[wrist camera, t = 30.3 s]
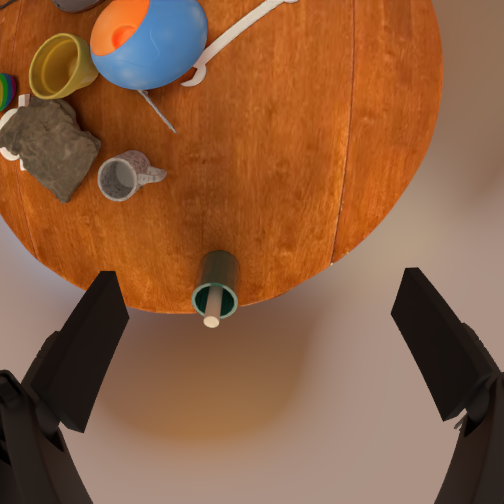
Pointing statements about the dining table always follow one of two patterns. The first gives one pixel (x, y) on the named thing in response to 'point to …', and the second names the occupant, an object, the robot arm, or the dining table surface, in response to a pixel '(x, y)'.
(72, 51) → the flower pot
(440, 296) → the robot arm
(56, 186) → the stone
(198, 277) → the can
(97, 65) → the treat dispenser ball
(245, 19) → the wrench
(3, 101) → the decorative egg
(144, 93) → the knife
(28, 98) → the tabbed white plastic disc
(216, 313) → the cream round cylinder
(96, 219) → the dining table surface
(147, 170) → the mug
